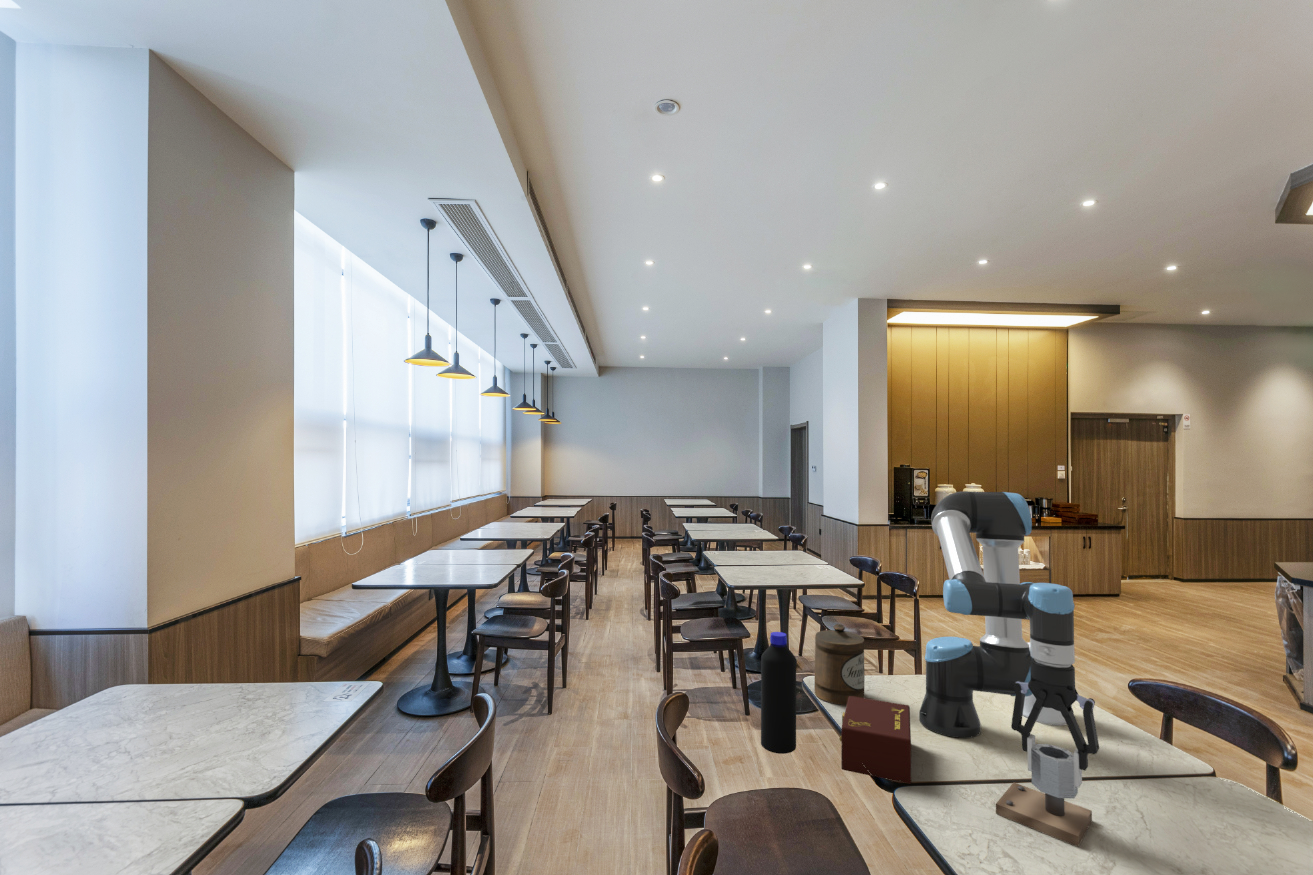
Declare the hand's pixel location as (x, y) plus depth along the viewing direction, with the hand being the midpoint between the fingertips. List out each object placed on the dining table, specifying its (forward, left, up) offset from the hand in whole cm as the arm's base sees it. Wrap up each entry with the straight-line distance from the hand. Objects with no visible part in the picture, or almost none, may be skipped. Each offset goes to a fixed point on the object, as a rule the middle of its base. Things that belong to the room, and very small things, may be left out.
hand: (1054, 776), depth 117 cm
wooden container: (-62, +26, -9) cm, 68 cm away
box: (-37, -2, -9) cm, 39 cm away
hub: (0, 0, -2) cm, 2 cm away
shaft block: (-2, 0, -9) cm, 9 cm away
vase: (-15, +57, -9) cm, 59 cm away
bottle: (-56, -15, -9) cm, 59 cm away
